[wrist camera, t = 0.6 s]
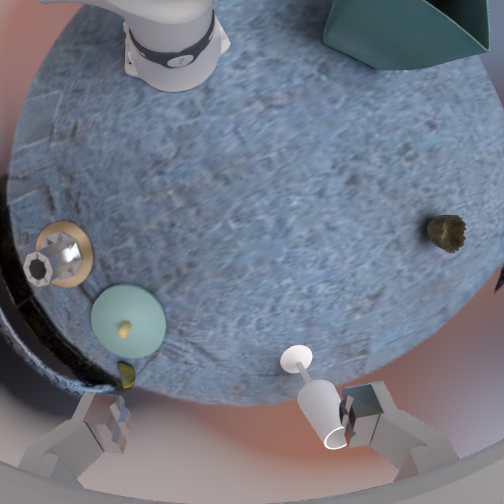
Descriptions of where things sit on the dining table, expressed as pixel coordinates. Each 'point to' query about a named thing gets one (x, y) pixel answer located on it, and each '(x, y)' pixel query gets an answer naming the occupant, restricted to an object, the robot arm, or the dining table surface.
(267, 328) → the dining table surface
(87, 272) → the stand
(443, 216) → the cup
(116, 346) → the hub
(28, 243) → the dining table surface
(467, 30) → the flower pot
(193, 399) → the dining table surface
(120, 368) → the lime
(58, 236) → the sleeve
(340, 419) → the robot arm
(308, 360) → the champagne flute
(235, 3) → the dining table surface
